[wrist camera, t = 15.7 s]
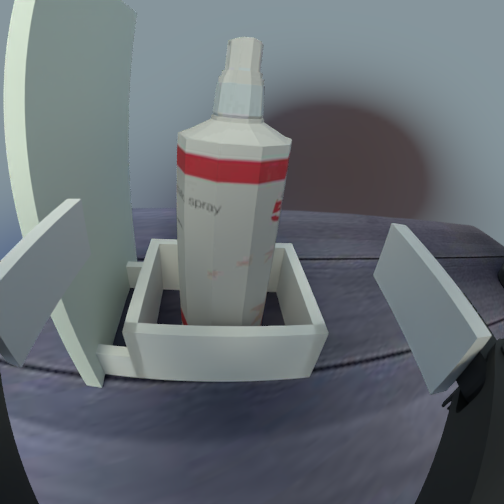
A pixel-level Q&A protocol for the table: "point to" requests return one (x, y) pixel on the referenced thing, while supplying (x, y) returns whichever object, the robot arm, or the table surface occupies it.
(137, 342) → the bottle bracket
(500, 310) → the table surface
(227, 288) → the spray bottle
